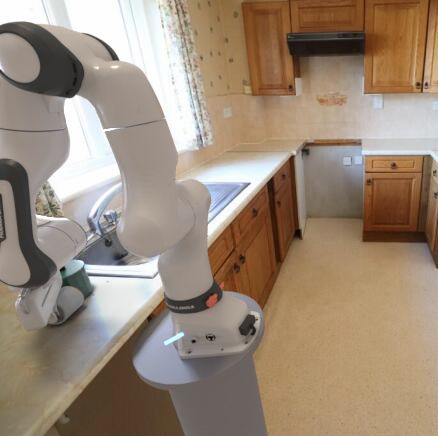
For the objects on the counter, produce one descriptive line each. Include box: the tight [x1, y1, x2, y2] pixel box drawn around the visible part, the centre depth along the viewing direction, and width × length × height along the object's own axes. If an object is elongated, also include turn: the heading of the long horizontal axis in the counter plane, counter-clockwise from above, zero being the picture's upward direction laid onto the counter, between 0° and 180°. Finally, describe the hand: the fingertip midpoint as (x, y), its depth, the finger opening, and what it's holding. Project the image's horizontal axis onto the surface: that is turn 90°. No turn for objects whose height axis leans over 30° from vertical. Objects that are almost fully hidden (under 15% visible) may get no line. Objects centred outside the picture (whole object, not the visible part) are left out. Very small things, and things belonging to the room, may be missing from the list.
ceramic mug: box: [51, 286, 85, 326], centre depth 87 cm, size 11×8×8 cm
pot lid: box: [59, 259, 85, 280], centre depth 93 cm, size 11×11×4 cm
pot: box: [61, 267, 94, 299], centre depth 95 cm, size 10×10×8 cm
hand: (54, 319), depth 82 cm, fingers closed
